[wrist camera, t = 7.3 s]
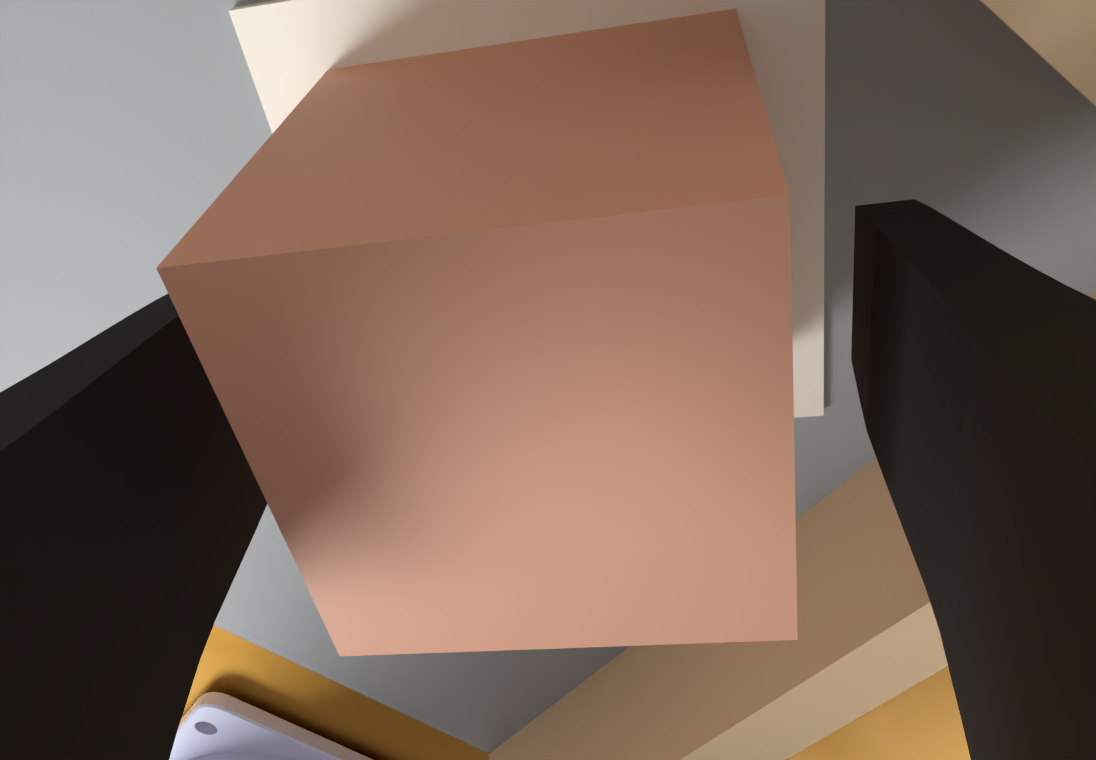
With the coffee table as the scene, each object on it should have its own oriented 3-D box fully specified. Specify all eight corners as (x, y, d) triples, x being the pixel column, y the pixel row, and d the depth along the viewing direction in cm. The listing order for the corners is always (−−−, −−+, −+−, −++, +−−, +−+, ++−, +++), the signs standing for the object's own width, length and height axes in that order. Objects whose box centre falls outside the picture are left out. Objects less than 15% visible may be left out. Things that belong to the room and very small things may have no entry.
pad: (822, 408, 14) (824, 415, 14) (386, 443, 15) (384, 449, 15) (823, -91, 10) (825, -89, 10) (233, 6, 11) (228, 10, 11)
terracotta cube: (752, 360, 13) (797, 640, 9) (425, 388, 14) (340, 656, 10) (735, 8, 11) (790, 194, 7) (328, 70, 11) (156, 267, 7)
